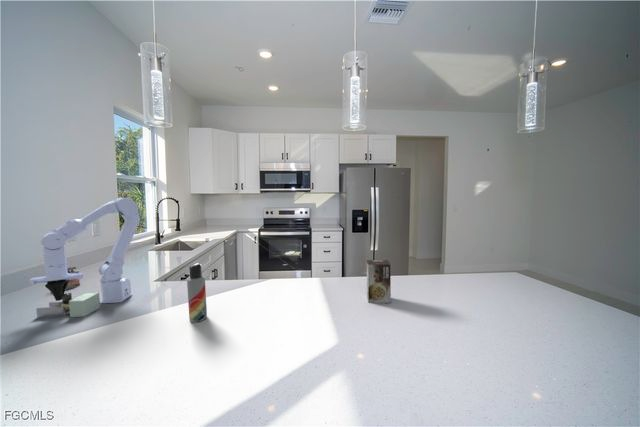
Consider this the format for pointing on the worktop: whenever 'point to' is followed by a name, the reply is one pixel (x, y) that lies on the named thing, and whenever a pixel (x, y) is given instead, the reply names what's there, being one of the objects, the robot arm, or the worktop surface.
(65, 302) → the sliding bolt
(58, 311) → the grey u channel
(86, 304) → the socket
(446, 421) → the worktop surface
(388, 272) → the coffee box
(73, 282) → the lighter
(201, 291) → the lotion bottle
